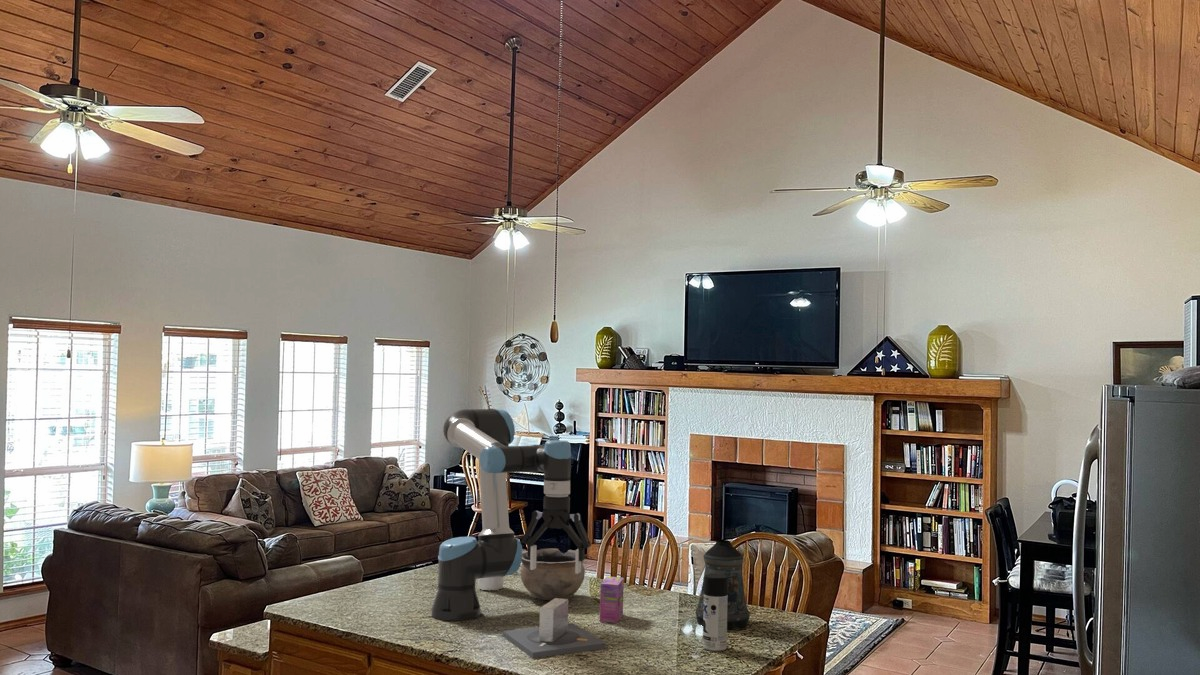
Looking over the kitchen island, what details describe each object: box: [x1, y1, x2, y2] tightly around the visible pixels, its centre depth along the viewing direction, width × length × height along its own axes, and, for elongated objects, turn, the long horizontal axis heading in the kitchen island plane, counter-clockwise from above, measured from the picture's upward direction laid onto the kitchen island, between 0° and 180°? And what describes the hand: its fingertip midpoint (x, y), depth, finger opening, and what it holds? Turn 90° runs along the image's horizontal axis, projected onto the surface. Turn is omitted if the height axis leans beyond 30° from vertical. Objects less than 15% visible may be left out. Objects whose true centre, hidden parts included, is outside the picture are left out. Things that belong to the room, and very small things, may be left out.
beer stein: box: [695, 539, 751, 631], centre depth 275 cm, size 16×19×25 cm
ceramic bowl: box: [520, 548, 586, 601], centre depth 300 cm, size 22×22×15 cm
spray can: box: [702, 574, 728, 653], centre depth 247 cm, size 7×7×20 cm
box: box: [599, 576, 625, 624], centre depth 276 cm, size 10×6×12 cm, turn 168°
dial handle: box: [538, 598, 569, 642], centre depth 250 cm, size 12×4×10 cm, turn 162°
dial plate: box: [502, 622, 607, 659], centre depth 250 cm, size 22×22×2 cm
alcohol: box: [477, 577, 504, 592], centre depth 314 cm, size 9×9×30 cm
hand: (555, 570), depth 251 cm, fingers open, 13 cm apart
